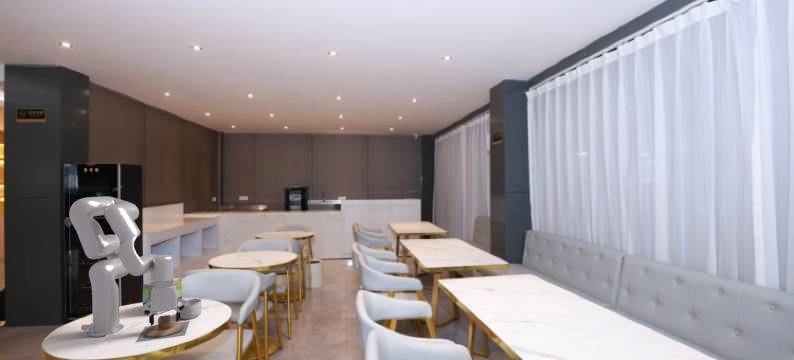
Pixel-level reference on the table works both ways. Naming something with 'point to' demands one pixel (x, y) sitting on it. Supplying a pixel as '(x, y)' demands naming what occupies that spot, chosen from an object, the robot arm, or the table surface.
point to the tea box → (148, 288)
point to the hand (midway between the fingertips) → (165, 322)
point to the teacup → (191, 309)
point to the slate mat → (181, 333)
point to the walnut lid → (163, 328)
